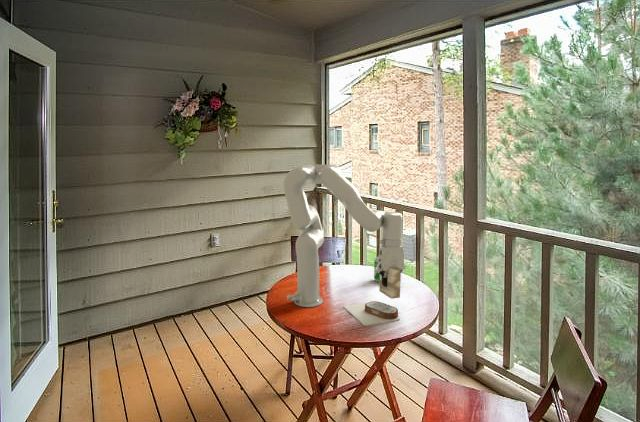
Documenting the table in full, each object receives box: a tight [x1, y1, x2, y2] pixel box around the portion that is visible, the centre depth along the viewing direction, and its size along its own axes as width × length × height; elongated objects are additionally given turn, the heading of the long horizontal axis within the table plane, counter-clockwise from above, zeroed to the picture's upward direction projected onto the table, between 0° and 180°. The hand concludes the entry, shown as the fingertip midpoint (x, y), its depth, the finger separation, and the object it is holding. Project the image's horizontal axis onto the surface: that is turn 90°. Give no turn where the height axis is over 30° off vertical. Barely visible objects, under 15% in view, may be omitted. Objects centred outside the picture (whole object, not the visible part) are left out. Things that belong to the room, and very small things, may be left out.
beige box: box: [378, 268, 402, 300], centre depth 181 cm, size 4×10×12 cm, turn 21°
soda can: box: [373, 255, 380, 283], centre depth 220 cm, size 8×8×12 cm
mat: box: [343, 301, 401, 327], centre depth 180 cm, size 16×20×1 cm
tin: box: [365, 300, 399, 319], centre depth 179 cm, size 15×3×8 cm
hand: (389, 284), depth 182 cm, fingers closed on beige box, 4 cm apart
